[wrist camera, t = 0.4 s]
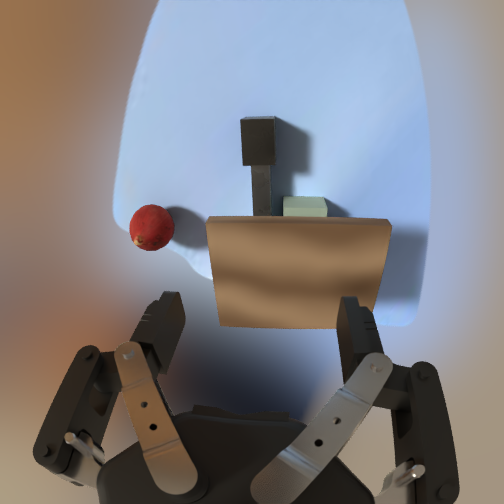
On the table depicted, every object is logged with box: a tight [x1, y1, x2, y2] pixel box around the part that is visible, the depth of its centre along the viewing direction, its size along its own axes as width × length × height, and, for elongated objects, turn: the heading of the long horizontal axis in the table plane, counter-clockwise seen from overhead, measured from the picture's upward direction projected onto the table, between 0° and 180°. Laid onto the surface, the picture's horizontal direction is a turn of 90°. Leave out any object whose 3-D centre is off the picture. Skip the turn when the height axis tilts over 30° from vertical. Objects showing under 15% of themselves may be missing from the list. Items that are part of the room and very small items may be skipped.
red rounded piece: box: [130, 204, 174, 251], centre depth 35 cm, size 6×6×8 cm
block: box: [283, 196, 328, 217], centre depth 34 cm, size 5×5×4 cm
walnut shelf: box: [205, 216, 392, 329], centre depth 32 cm, size 12×16×12 cm
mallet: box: [240, 116, 276, 216], centre depth 32 cm, size 18×12×4 cm
